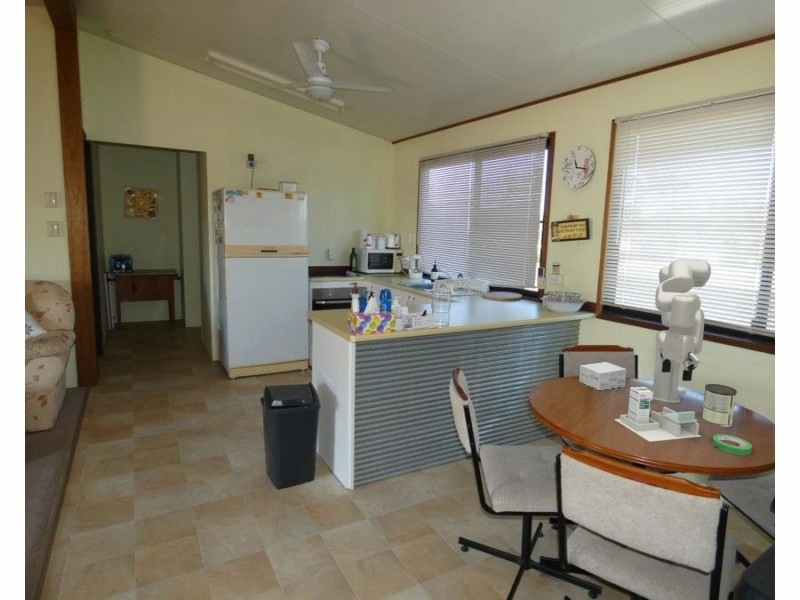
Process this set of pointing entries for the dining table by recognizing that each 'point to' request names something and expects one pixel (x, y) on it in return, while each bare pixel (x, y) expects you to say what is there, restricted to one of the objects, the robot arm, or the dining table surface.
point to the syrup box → (640, 405)
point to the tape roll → (742, 450)
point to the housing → (661, 427)
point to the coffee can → (719, 404)
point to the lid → (681, 417)
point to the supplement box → (602, 375)
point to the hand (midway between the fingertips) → (675, 376)
